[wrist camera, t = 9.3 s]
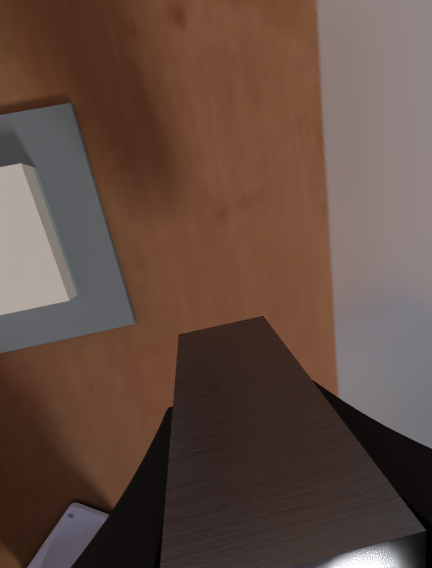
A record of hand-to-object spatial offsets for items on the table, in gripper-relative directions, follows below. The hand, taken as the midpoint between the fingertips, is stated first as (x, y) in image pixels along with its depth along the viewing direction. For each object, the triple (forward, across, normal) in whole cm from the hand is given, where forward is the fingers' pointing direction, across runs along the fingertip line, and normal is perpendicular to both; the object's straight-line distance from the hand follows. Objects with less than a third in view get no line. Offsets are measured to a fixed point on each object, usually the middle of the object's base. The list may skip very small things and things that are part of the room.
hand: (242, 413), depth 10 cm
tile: (+9, +13, -4) cm, 16 cm away
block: (+3, 0, 0) cm, 3 cm away
